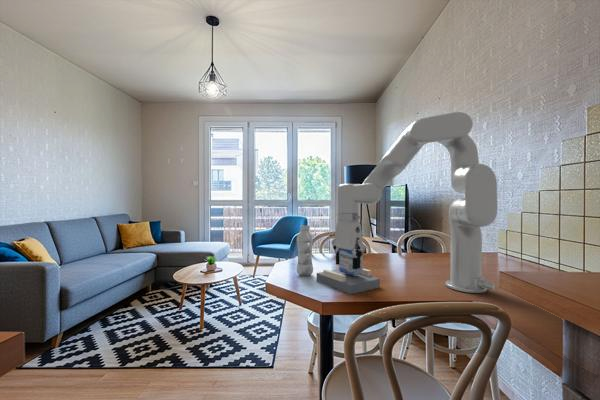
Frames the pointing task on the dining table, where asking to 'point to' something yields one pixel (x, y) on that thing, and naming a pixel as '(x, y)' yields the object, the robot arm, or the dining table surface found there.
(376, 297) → the dining table surface
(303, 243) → the plastic bottle
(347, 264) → the medicine box
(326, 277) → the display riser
